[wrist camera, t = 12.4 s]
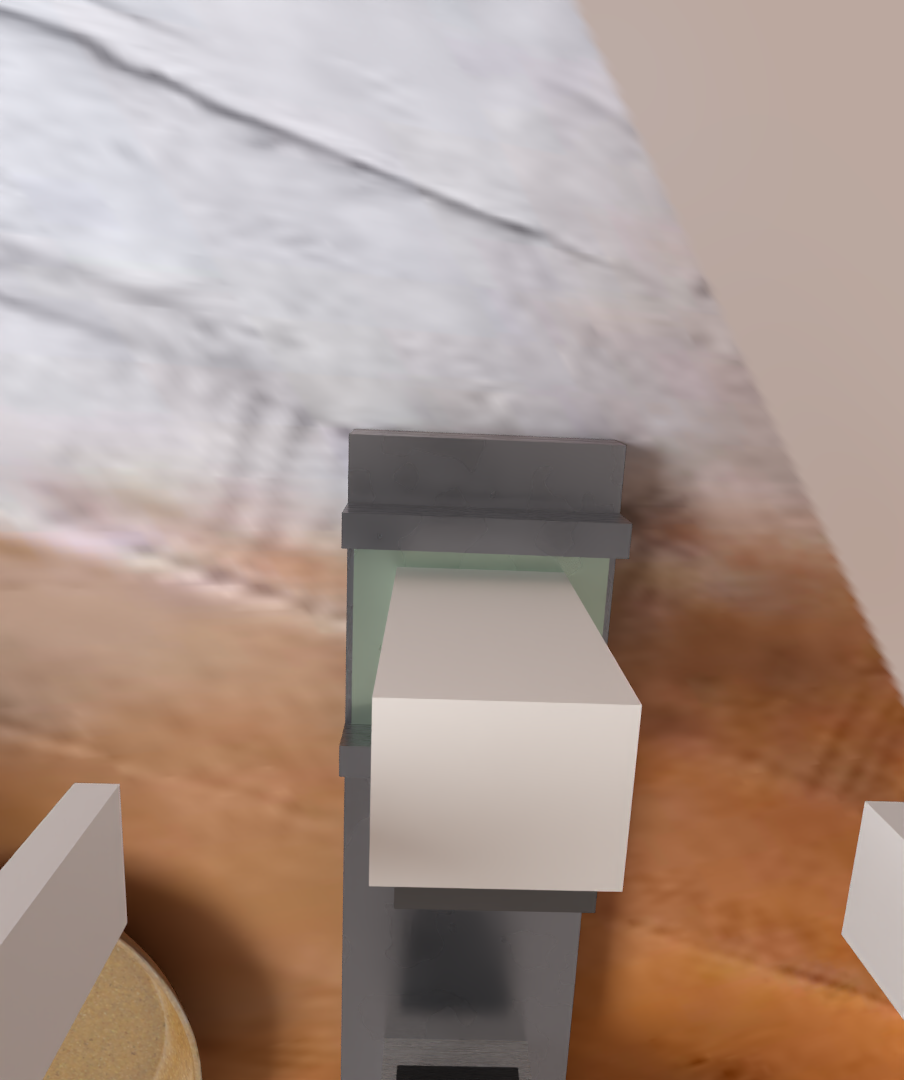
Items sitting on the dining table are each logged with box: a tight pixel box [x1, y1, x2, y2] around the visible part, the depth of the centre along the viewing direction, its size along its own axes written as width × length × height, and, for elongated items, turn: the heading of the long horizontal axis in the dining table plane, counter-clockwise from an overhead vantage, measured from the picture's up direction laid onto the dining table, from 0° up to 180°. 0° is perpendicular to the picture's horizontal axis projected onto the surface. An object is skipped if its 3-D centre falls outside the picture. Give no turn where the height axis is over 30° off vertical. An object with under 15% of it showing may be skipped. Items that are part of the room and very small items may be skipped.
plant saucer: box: [43, 931, 202, 1080], centre depth 27 cm, size 15×15×3 cm
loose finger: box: [369, 567, 642, 913], centre depth 19 cm, size 4×5×9 cm
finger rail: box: [339, 429, 632, 1080], centre depth 22 cm, size 28×8×10 cm, turn 177°
